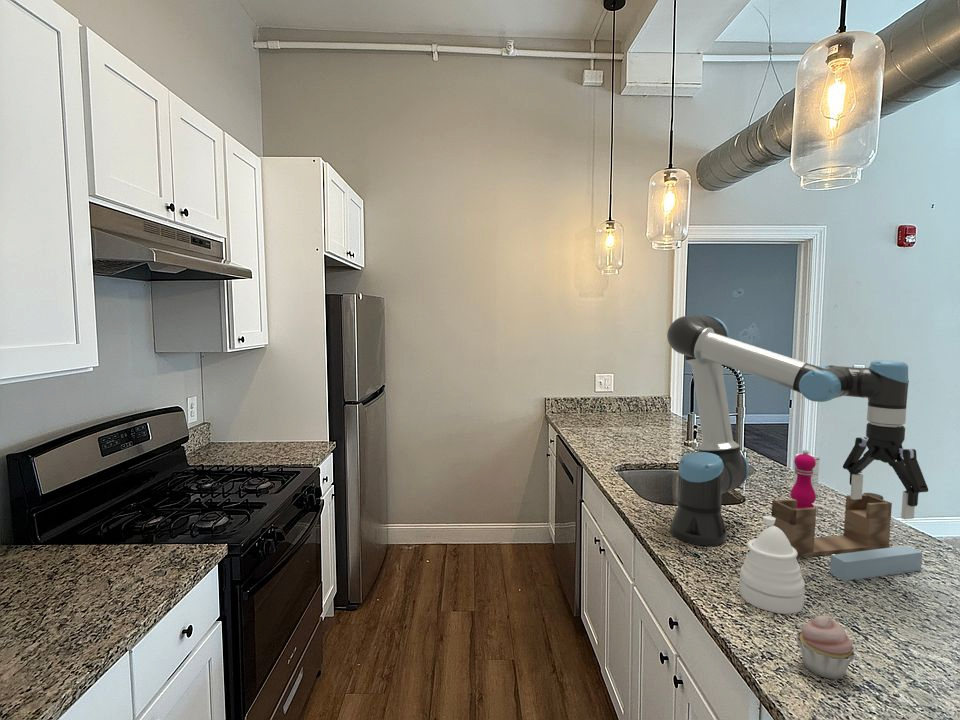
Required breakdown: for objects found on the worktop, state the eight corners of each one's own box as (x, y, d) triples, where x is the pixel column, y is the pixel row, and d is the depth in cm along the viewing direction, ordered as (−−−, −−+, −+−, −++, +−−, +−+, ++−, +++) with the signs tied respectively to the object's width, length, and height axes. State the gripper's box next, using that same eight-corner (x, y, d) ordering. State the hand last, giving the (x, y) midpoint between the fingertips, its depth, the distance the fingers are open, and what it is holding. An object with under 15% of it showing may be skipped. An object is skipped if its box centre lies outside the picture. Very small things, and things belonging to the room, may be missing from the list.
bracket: (791, 558, 139) (793, 510, 138) (769, 545, 146) (771, 500, 145) (889, 549, 144) (892, 503, 143) (863, 537, 152) (866, 493, 151)
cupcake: (848, 694, 89) (852, 638, 88) (787, 667, 95) (790, 615, 95) (861, 669, 95) (864, 616, 94) (802, 645, 102) (805, 596, 101)
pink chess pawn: (792, 493, 190) (794, 454, 189) (802, 491, 193) (804, 452, 191) (808, 498, 185) (810, 458, 184) (818, 495, 188) (820, 456, 186)
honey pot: (728, 584, 125) (731, 511, 124) (779, 582, 126) (783, 510, 125) (760, 614, 112) (764, 533, 111) (817, 612, 113) (822, 532, 112)
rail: (844, 582, 127) (845, 562, 127) (829, 574, 131) (830, 555, 130) (920, 571, 133) (922, 552, 132) (904, 564, 136) (906, 545, 136)
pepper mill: (790, 510, 173) (793, 451, 172) (789, 503, 180) (792, 446, 178) (816, 514, 170) (819, 453, 168) (814, 507, 176) (817, 448, 175)
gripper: (952, 434, 117) (945, 526, 119) (853, 414, 142) (849, 490, 143) (924, 435, 116) (918, 528, 117) (829, 415, 140) (825, 492, 142)
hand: (880, 508), depth 130 cm, fingers open, 13 cm apart
